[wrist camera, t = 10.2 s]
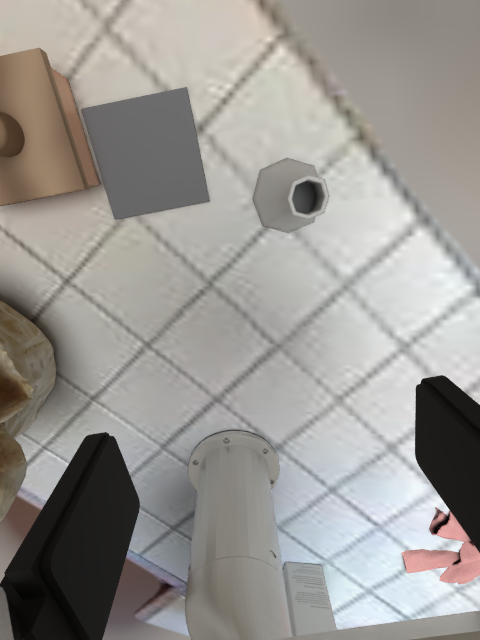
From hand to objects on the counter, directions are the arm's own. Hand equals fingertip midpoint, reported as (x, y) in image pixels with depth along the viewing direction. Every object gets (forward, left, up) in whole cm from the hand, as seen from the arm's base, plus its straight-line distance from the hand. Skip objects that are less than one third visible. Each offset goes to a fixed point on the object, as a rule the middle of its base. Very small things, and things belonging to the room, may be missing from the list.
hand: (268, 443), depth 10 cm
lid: (+15, +17, -24) cm, 33 cm away
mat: (+12, +7, -28) cm, 32 cm away
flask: (+6, -6, -29) cm, 30 cm away
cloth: (-51, -25, -29) cm, 63 cm away
